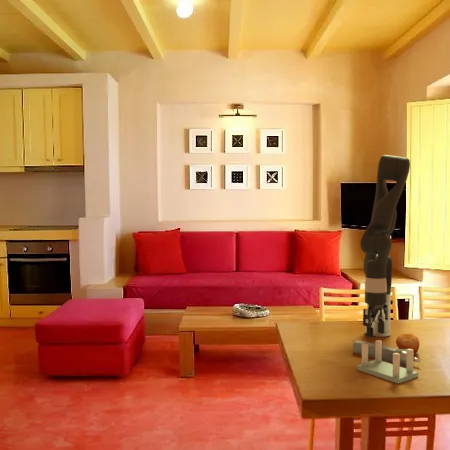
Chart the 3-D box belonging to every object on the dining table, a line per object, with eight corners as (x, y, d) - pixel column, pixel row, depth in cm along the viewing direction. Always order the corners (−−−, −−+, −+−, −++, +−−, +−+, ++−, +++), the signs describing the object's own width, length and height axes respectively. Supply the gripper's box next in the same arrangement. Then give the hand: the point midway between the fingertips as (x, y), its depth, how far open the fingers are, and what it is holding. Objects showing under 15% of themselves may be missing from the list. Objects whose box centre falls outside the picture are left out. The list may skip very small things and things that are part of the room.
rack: (356, 369, 166) (357, 344, 165) (376, 363, 172) (376, 339, 171) (398, 383, 153) (398, 356, 152) (418, 376, 159) (418, 350, 158)
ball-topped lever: (351, 353, 183) (351, 342, 182) (359, 349, 187) (360, 339, 187) (415, 368, 166) (415, 357, 166) (423, 364, 170) (423, 352, 170)
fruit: (418, 345, 187) (419, 329, 183) (419, 361, 181) (419, 346, 177) (395, 343, 190) (396, 328, 186) (395, 359, 184) (395, 344, 180)
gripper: (376, 293, 171) (376, 341, 171) (394, 288, 181) (394, 333, 181) (356, 291, 176) (356, 337, 176) (375, 286, 186) (375, 330, 187)
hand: (375, 335), depth 179 cm, fingers open, 8 cm apart
